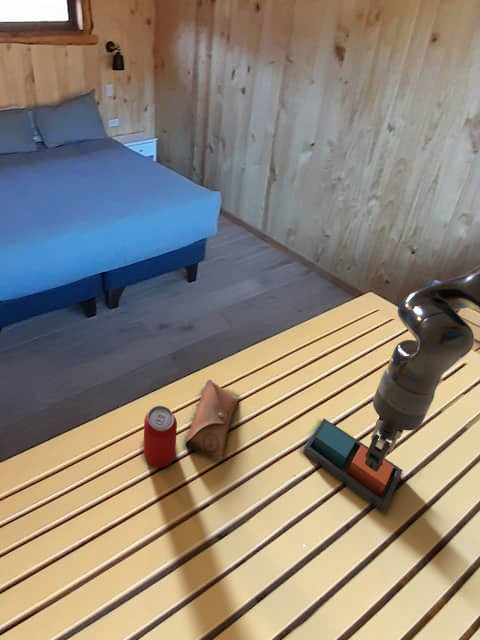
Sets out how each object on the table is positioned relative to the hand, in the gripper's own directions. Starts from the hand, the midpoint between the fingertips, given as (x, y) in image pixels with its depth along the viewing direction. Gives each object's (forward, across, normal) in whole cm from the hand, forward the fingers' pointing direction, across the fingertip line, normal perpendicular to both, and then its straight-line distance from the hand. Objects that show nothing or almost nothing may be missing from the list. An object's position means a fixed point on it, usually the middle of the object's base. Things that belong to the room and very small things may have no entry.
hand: (379, 451), depth 77 cm
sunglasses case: (+9, -13, +29) cm, 33 cm away
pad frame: (+9, 0, +4) cm, 9 cm away
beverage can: (+8, -27, +32) cm, 43 cm away
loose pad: (+8, 0, 0) cm, 8 cm away
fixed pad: (+8, 0, +7) cm, 11 cm away
